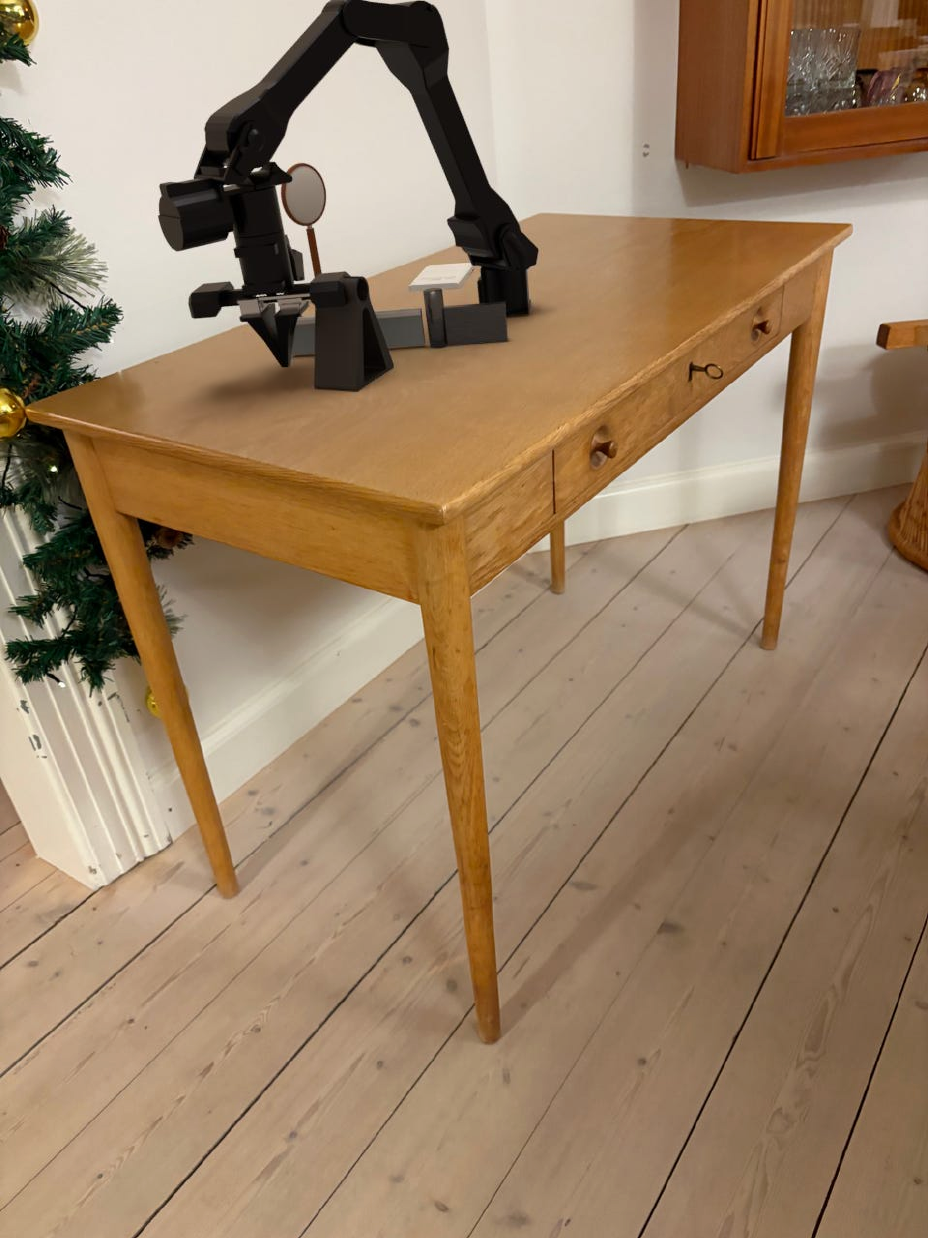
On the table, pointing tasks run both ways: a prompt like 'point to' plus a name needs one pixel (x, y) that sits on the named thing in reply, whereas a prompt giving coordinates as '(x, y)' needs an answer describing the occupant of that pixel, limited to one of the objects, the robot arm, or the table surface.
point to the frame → (463, 321)
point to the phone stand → (350, 342)
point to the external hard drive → (441, 277)
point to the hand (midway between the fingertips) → (286, 366)
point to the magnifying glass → (305, 203)
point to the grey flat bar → (394, 325)
